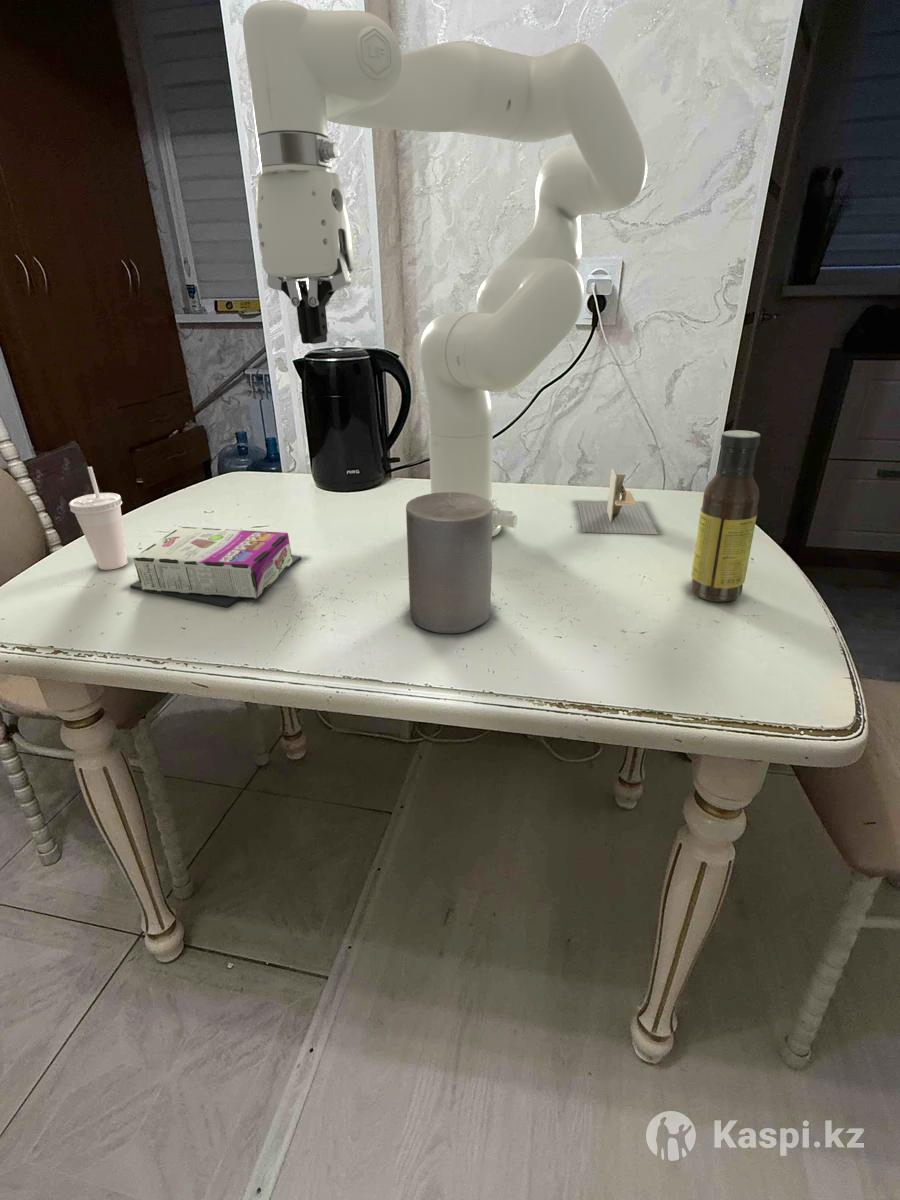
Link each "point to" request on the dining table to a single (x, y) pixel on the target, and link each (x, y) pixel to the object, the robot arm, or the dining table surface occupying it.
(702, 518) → the sauce bottle
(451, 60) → the robot arm
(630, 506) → the architectural model
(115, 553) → the smoothie
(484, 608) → the pillar candle
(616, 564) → the dining table surface
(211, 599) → the mat
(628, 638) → the dining table surface
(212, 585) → the candy bar box
